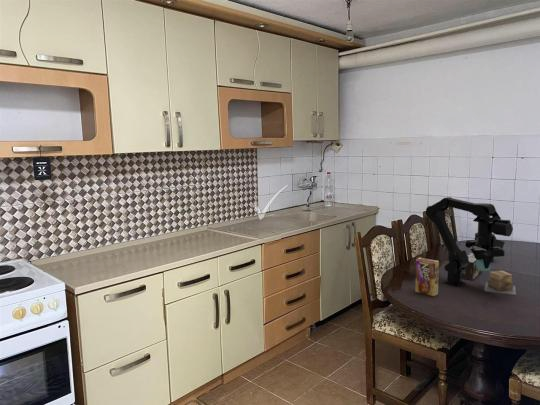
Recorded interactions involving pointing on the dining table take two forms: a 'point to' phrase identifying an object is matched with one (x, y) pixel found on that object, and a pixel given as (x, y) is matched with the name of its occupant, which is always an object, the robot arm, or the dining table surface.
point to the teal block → (482, 265)
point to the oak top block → (500, 276)
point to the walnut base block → (500, 285)
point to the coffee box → (471, 268)
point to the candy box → (427, 276)
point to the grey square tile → (510, 292)
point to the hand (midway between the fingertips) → (483, 267)
